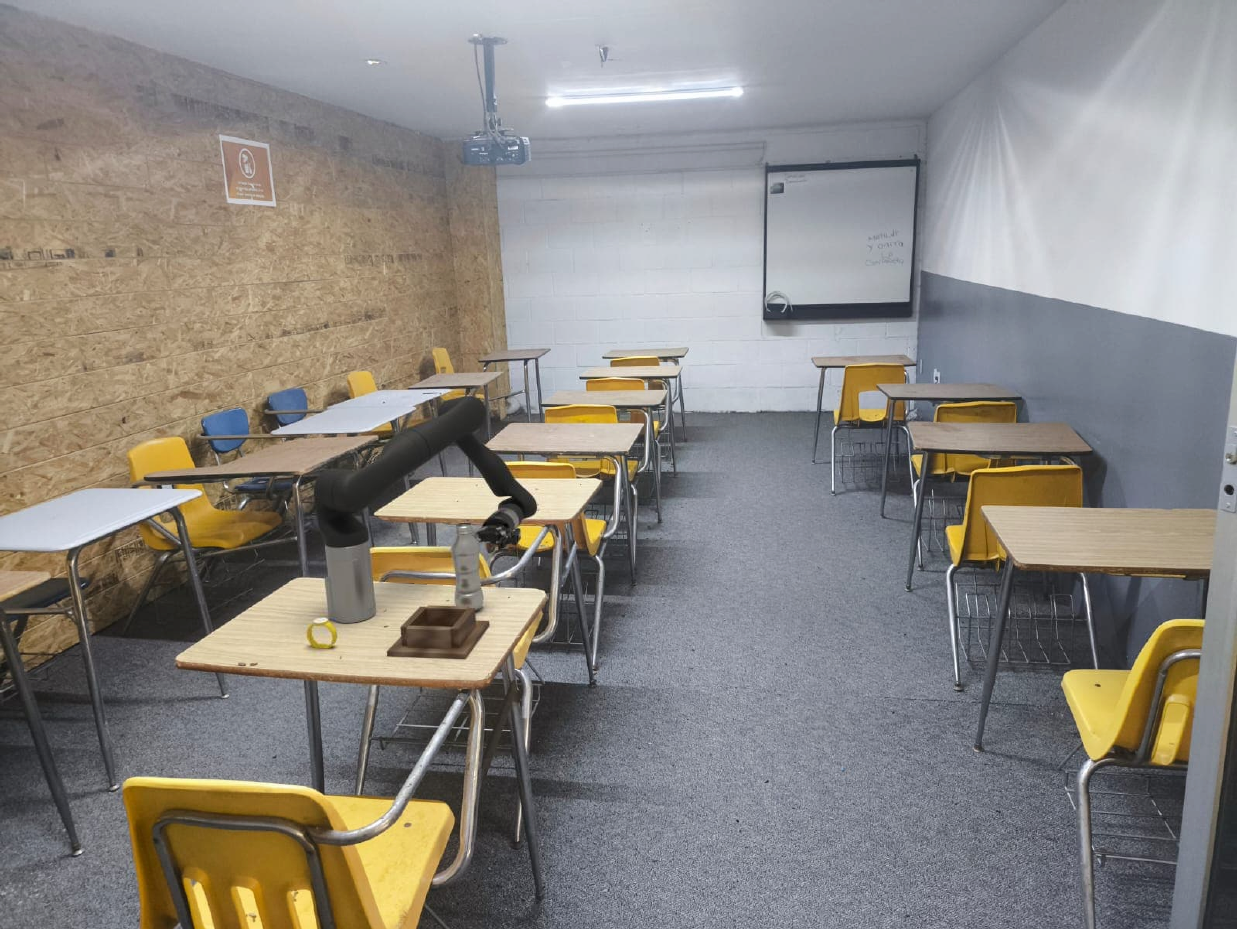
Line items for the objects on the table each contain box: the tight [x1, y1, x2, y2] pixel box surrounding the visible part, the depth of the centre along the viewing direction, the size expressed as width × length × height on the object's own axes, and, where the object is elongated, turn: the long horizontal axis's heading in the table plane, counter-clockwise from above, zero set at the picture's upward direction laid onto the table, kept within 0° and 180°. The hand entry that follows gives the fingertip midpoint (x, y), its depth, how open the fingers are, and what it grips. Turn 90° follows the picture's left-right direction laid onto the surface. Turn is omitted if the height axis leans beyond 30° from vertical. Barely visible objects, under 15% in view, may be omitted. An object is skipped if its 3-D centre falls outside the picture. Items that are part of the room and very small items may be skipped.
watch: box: [306, 617, 338, 650], centre depth 160 cm, size 6×3×6 cm, turn 80°
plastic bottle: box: [450, 521, 485, 612], centre depth 175 cm, size 6×7×20 cm
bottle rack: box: [386, 604, 491, 660], centre depth 162 cm, size 16×16×5 cm
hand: (481, 546), depth 186 cm, fingers open, 8 cm apart
